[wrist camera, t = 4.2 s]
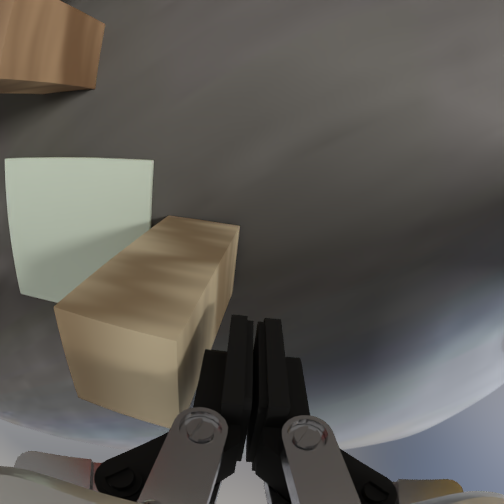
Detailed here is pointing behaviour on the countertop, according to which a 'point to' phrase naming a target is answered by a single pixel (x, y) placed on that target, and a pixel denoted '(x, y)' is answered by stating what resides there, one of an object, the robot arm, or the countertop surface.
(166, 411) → the maple block
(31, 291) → the mat
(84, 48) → the walnut block
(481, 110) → the countertop surface
